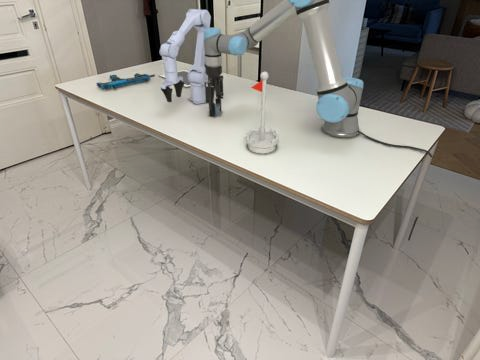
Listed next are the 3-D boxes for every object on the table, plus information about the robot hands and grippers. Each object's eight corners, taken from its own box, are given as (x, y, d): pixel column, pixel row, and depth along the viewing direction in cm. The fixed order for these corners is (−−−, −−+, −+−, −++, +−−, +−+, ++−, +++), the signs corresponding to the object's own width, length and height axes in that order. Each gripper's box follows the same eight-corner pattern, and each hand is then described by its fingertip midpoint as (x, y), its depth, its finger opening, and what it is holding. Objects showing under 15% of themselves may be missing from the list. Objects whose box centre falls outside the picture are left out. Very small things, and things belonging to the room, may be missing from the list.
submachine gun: (140, 68, 226) (159, 74, 209) (142, 73, 228) (160, 80, 211) (89, 77, 207) (104, 85, 190) (90, 84, 209) (106, 92, 192)
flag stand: (269, 137, 144) (273, 65, 127) (283, 151, 134) (289, 74, 117) (240, 142, 140) (240, 68, 123) (253, 157, 130) (255, 78, 113)
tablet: (159, 75, 221) (159, 75, 220) (185, 70, 232) (185, 69, 231) (186, 87, 200) (186, 86, 200) (213, 80, 211) (213, 80, 211)
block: (220, 112, 168) (220, 103, 165) (219, 115, 164) (219, 106, 162) (212, 112, 168) (211, 103, 165) (211, 115, 165) (210, 106, 162)
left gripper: (173, 66, 164) (176, 93, 172) (154, 73, 153) (158, 102, 161) (185, 68, 162) (187, 95, 169) (166, 75, 151) (170, 105, 158)
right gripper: (216, 59, 162) (218, 106, 174) (195, 69, 148) (198, 118, 161) (230, 61, 159) (231, 108, 172) (210, 71, 145) (212, 121, 158)
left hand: (174, 99), depth 165 cm, fingers open, 7 cm apart
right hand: (215, 113), depth 166 cm, fingers closed on block, 5 cm apart
